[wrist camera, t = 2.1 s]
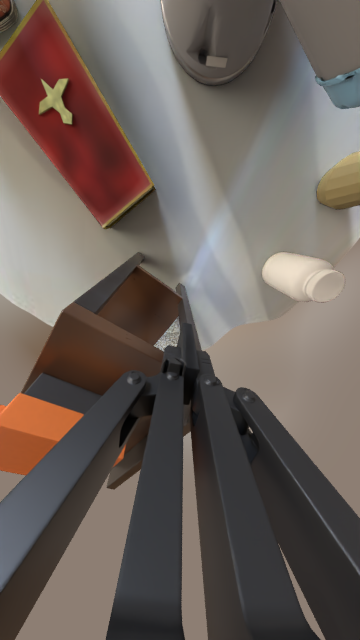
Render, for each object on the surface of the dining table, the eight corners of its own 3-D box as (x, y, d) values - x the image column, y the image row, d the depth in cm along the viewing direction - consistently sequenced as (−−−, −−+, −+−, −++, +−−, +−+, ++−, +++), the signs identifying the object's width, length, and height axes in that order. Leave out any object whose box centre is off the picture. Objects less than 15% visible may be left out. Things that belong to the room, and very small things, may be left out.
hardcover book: (108, 229, 34) (101, 229, 31) (8, 97, 25) (-20, 75, 22) (155, 189, 32) (154, 184, 28) (61, 27, 23) (41, -12, 19)
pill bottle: (269, 248, 38) (322, 258, 25) (300, 254, 39) (367, 268, 26) (255, 282, 42) (295, 307, 28) (284, 287, 43) (335, 313, 30)
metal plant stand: (103, 309, 43) (-23, 462, 15) (138, 252, 37) (39, 326, 9) (147, 334, 47) (114, 489, 19) (184, 286, 41) (218, 410, 13)
